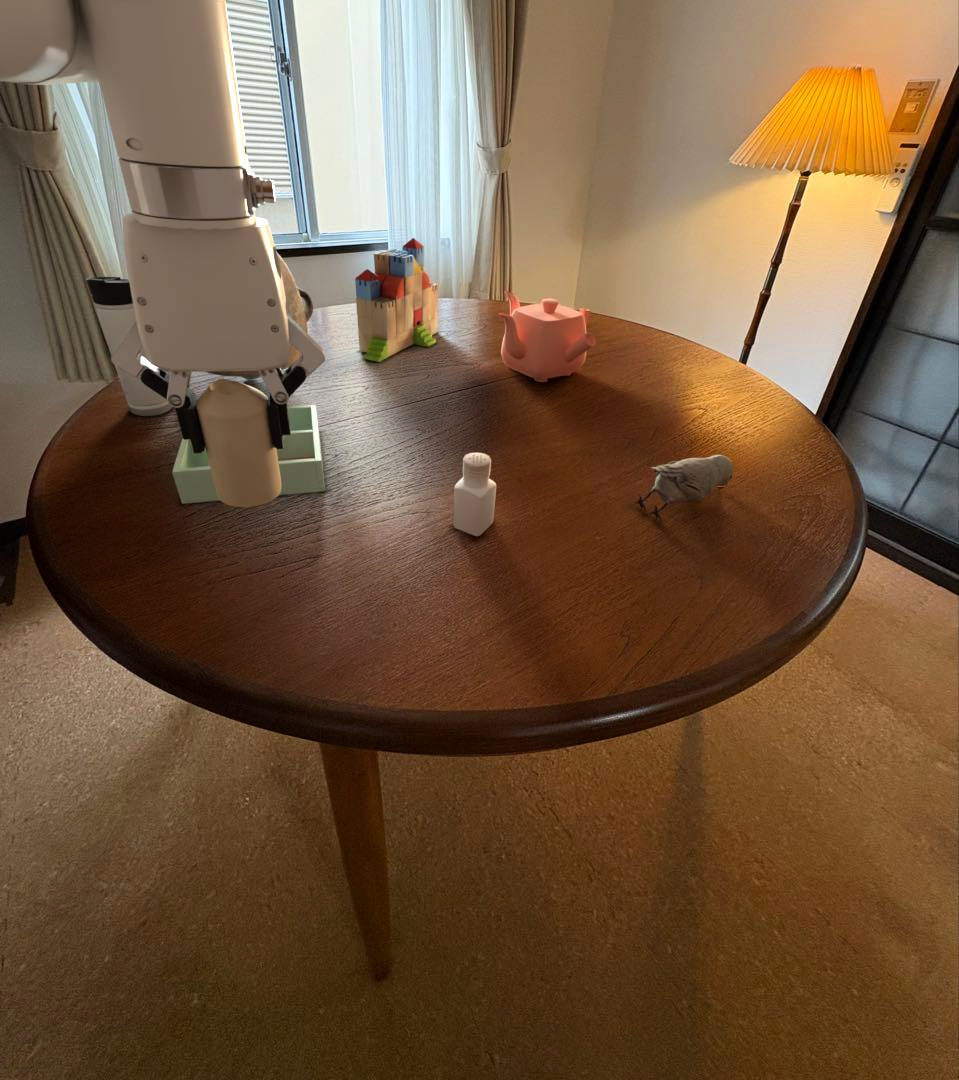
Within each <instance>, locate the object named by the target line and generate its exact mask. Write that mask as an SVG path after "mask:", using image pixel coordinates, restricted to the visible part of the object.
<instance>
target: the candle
mask: <svg viewBox="0 0 959 1080" xmlns="http://www.w3.org/2000/svg"><path fill="white" fill-rule="evenodd" d="M198 398H199V399H198V400H197V401H196V410H197V414H198V418H199V422H200V427H201V431H202V435H203V439H204V444H205V448H206V452H207V456H208V461H209V465H210V469H211V473H212V477H213V482H214V486H215V490H216V493H217V496H218V498H219V499H220V500H219V501H220V502H221V503H223V504H225V505H227V506H230V507H235V508H253V507H257V506H262V505H264V504H268V503H270V502H272V501H273V500H275V499H276V498H277V497H278V496H280V495H279V494H280V492H281V477H280V470H279V464H278V457H277V451H276V448H274V444H273V438H272V431H271V425H270V418H269V412H268V395H266V394H265V393H264V392H263V391H261V390H259V389H258V388H256V387H254V386H251V385H248V384H246V383H243V382H241V381H238V380H231V379H227V378H218V379H216V380H214V381H213V382H211V383H209V385H208V386H207V388H206V389H205V390H204V391H203V392H202V394H201V395H200V396H198Z"/></svg>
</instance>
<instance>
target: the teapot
mask: <svg viewBox="0 0 959 1080" xmlns="http://www.w3.org/2000/svg"><path fill="white" fill-rule="evenodd" d="M504 294H505V296H506V297H507V299H508V302H509V314H508V313H502V312H501V313H500V312H499V313H498V316H500V317H501V318H502V320H503V322H504V335H503V339H502V344H501V349H500V350H501V351H500V354H501V358H502V361H503V363H504V365H505V366H507V367H508V368H511V369H512V370H513V371H515V372H518V373H521V374H523V375H525V376H527V377H529V378H532V379H534V381H535V382H539V383H546V382H548V380H549V379H551V378H558V377H568V376H570V375H571V374H572V373H574V372H577V371H578V370H580V369H581V367H582V366H583V365H584V363H585V361H586V358H587V351H589V350H590V349H592V348H593V347H594V346H595V345H597V338H596V337H595V335H594V334H593V333H592V332H587V324H588V321H589V317H590V316H591V313H592V310H591V309H588V308H581V307H580V308H579V310H576V309H574V308H571V307H567V306H565V305H561V304H560V301H559V300H557V299H554V298H543V299H541V303H533V304H527V305H523V306H521V304H520V302H519V299H518V296H517V295H515V293H513V292H511V291H508V290H504ZM576 370H577V371H576Z"/></svg>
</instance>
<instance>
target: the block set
mask: <svg viewBox="0 0 959 1080" xmlns="http://www.w3.org/2000/svg"><path fill="white" fill-rule="evenodd" d="M373 263H374V264H373V267H374V272H372V270H370V269H369V268H366V269H365V270H363V271H362V272H361V273H360V274H359V275H357V276H356V277H355V278H354V279H355V280H354V281H355V282H354V283H355V302H356V303H355V305H356V317H357V333H358V347H359V351H360V352H364V353H365V354H364V355H363V357H364V360H367V361H373V362H378V363H379V362H382V361H384V360H386V359H388V358H389V357H392V356H393V355H395V354H397V353H399V352H400V351H402V350H405V349H406V348H408V347H411V346H413V345H417V346H422V347H426V348H428V347H430V346H432V345H435V344H436V338H433V335H435V334H437V333H438V306H439V284H438V283H433V282H431V280H430V277H429V275H428V273H427V272H425V246H424V245H423V244H422V243H420V241H418V240H417V239H416V238H414V237H412V238H411V239H410V240H408V241H407V242H406V243H405V244H403V246H402V249H397V248H391V249H388V250H385V251H383V250H382V251H379V252H374V253H373Z"/></svg>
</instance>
